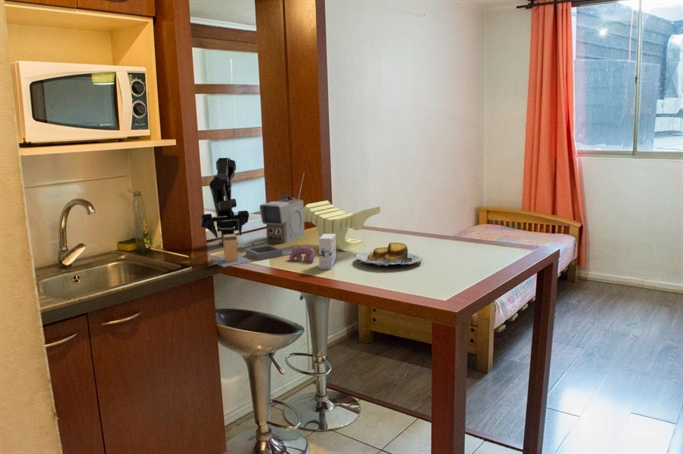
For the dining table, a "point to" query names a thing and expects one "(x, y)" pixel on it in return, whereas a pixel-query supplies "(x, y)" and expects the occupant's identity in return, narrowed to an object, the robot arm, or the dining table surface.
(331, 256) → the ink box
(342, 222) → the slatted curved stool
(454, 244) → the dining table surface
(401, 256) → the food on plate
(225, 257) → the block
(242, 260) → the mat
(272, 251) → the case
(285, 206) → the portable television
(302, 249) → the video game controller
